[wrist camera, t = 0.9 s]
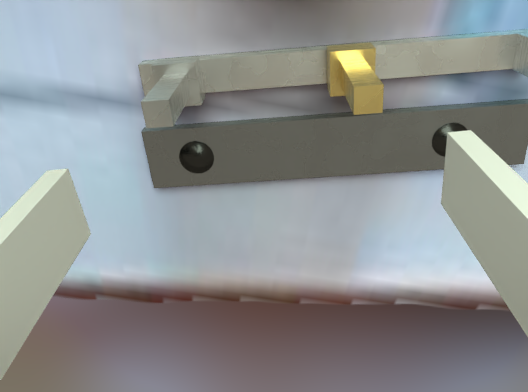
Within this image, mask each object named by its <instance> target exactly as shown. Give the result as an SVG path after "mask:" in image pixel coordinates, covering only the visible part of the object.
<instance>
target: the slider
mask: <svg viewBox="0 0 528 392" xmlns="http://www.w3.org/2000/svg"><path fill="white" fill-rule="evenodd" d="M375 61H376V48H375V47H374V46H373V45H372V44H371V43H370V42H369V43H357V44H345V45H332V46H327V89H328V91H329V94H330V97H333V96H345V97H346V99H347V101H348V103H349V105H350V108H351V110H352V112H353V114H354V115H359V114H372V113H382V112H383V87H384V84H383V83H382V82H381V81H380V79H379V78H378V77H377V75H376V74H375Z"/></svg>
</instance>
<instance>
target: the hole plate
mask: <svg viewBox="0 0 528 392" xmlns="http://www.w3.org/2000/svg"><path fill="white" fill-rule="evenodd" d="M467 130H471V131H472V132H473V133H474V134H476V135H477V136H478V137H479V138H480V139H481V140H482V141H483V142H484V143H485V144H486V145H487V146H488V147H489V148H490V149H492V150H493V151H494V152H495V153H496V154H497V155H498V156H499V157H500V158H501V159H502V160H503V161H504V162H505V163H506V164H507V165H513V164H524V160H525V155H526V150H527V145H528V99H522V100H508V101H495V102H481V103H468V104H454V105H440V106H427V107H413V108H400V109H386V110H383V112H382V113H372V114H359V115H354V114H353V112H346V113H332V114H319V115H305V116H292V117H278V118H264V119H251V120H237V121H224V122H210V123H197V124H183V125H174V126H172V127H158V128H146V127H144V129H143V130H142V137H143V141H144V146H145V150H146V154H147V159H148V163H149V168H150V172H151V177H152V181H153V185H154V188H163V187H178V186H193V185H208V184H224V183H239V182H254V181H269V180H284V179H300V178H315V177H330V176H345V175H361V174H376V173H391V172H406V171H421V170H437V169H444V165H445V154H446V143H447V132H457V131H467Z"/></svg>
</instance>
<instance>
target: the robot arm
mask: <svg viewBox="0 0 528 392" xmlns="http://www.w3.org/2000/svg"><path fill="white" fill-rule="evenodd" d="M441 204H442V206H443V208H444V209H445V211H446V212H447V214H448V215H449V217H450V218H451V220H452V221H453V223H454V224H455V226H456V228H457V229H458V231H459V232H460V234H461V235H462V237H463V238H464V240H465V241H466V243H467V244H468V246H469V247H470V249H471V251H472V252H473V254H474V255H475V257H476V258H477V260H478V261H479V263H480V264H481V266H482V267H483V269H484V271H485V272H486V274H487V275H488V277H489V278H490V280H491V281H492V283H493V284H494V286H495V287H496V289H497V291H498V292H499V294H500V295H501V297H502V298H503V300H504V301H505V303H506V304H507V306H508V307H509V309H510V310H511V312H512V313H513V315H514V317H515V318H516V320H517V321H518V323H519V324H520V326H521V327H522V329H523V330H524V332H525V334H526V335H527V336H528V183H527V182H526V181H524V180H523V179H522V178H521V177H520V176H519V175H518V174H517V173H516V172H515V171H514V170H513V169H512V168H511V167H510V166H509V165H507V164H506V163H505V162H504V161H503V160H502V159H501V158H500V157H499V156H498V155H497V154H496V153H495V152H494V151H493V150H492V149H490V148H489V147H488V146H487V145H486V144H485V143H484V142H483V141H482V140H481V139H480V138H479V137H478V136H477V135H476V134H474V133H473V132H472V131H471V130H467V131H457V132H447V143H446V154H445V165H444V176H443V187H442V198H441ZM90 234H91V233H90V230H89V227H88V224H87V221H86V218H85V216H84V213H83V210H82V207H81V204H80V201H79V198H78V196H77V193H76V190H75V187H74V184H73V181H72V178H71V175H70V173H69V170H68V169H60V170H49V171H46V172H45V173H44V174H43V175H42V176H41V177H40V178H39V180H38V181H37V182H36V183H35V184H34V185H33V186H32V187H31V188H30V189H29V190H28V191H27V192H26V193H25V194H24V195H23V196H22V197H21V198H20V199H19V200H18V201H17V202H16V203H15V204H14V205H13V206H12V207H11V208H10V209H9V210H8V211H7V212H6V213H5V214H4V215H3V216H2V217H1V218H0V380H1V379H2V378H3V376H4V374H5V373H6V371H7V370H8V368H9V366H10V365H11V363H12V361H13V360H14V358H15V357H16V355H17V353H18V351H19V350H20V348H21V346H22V345H23V343H24V342H25V340H26V339H27V337H28V335H29V334H30V332H31V331H32V328H33V327H34V326H35V324H36V322H37V321H38V319H39V317H40V316H41V314H42V313H43V311H44V309H45V308H46V306H47V304H48V303H49V301H50V299H51V298H52V296H53V295H54V293H55V291H56V290H57V288H58V287H59V285H60V283H61V282H62V280H63V278H64V277H65V275H66V274H67V272H68V270H69V269H70V267H71V265H72V264H73V262H74V261H75V259H76V257H77V256H78V254H79V252H80V251H81V249H82V248H83V246H84V244H85V243H86V241H87V239H88V238H89V236H90Z"/></svg>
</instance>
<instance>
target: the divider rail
mask: <svg viewBox="0 0 528 392" xmlns="http://www.w3.org/2000/svg"><path fill="white" fill-rule="evenodd" d="M362 43H369V42H362ZM370 43H371V44H372V45H373V46H374V47H375V48H376V61H375V74H376V75H377V77H378V78H379V79H390V78H402V77H415V76H428V75H441V74H454V73H467V72H479V71H492V70H505V69H513V70H515V71H517V72H519V73H521V74H522V75H524V76H526V77H528V29H519V30H507V31H495V32H483V33H471V34H459V35H447V36H435V37H423V38H410V39H398V40H386V41H374V42H370ZM350 44H357V43H350ZM338 45H345V44H338ZM327 46H332V45H326V46H314V47H302V48H290V49H278V50H266V51H253V52H241V53H229V54H217V55H205V56H189V57H177V58H165V59H157V60H145V61H142V62H141V63H140V64H139V65H138V66H139V71H140V76H141V80H142V85H143V90H144V94H145V97H144V99H143V100H142V101H141V105H142V110H143V114H144V119H145V123H146V128H158V127H172V126H174V125H175V123H176V121H177V119H178V117H179V116H180V114H181V112H182V110H183V108H184V107H185V106H198V105H202V103H203V101H204V99H205V93H210V92H223V91H235V90H248V89H261V88H274V87H287V86H300V85H312V84H325V83H327Z"/></svg>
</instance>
